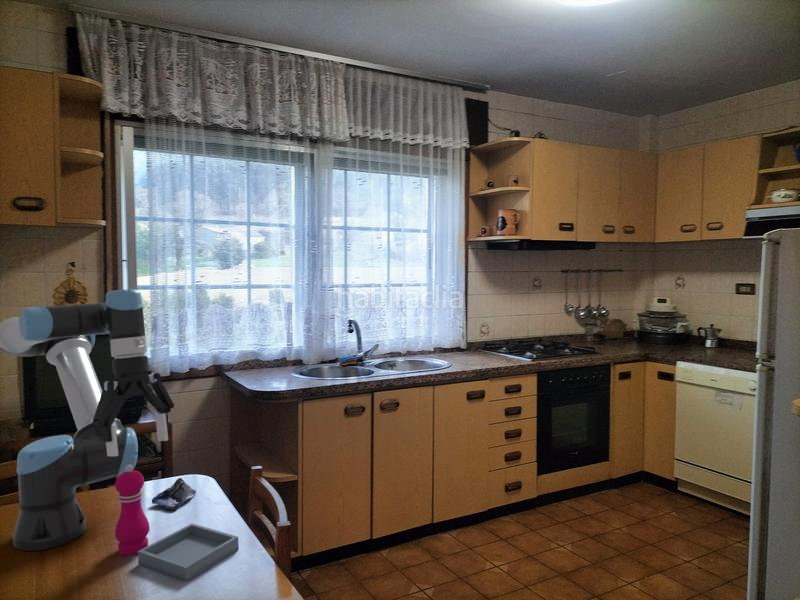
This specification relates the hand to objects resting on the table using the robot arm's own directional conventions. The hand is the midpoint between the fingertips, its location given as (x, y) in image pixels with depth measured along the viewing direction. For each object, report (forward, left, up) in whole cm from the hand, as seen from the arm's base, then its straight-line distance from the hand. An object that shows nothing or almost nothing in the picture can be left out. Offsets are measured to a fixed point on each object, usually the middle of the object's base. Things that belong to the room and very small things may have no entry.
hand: (139, 448), depth 133 cm
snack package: (-13, +21, -24) cm, 34 cm away
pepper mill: (-1, -2, -24) cm, 24 cm away
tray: (+14, +1, -23) cm, 27 cm away
